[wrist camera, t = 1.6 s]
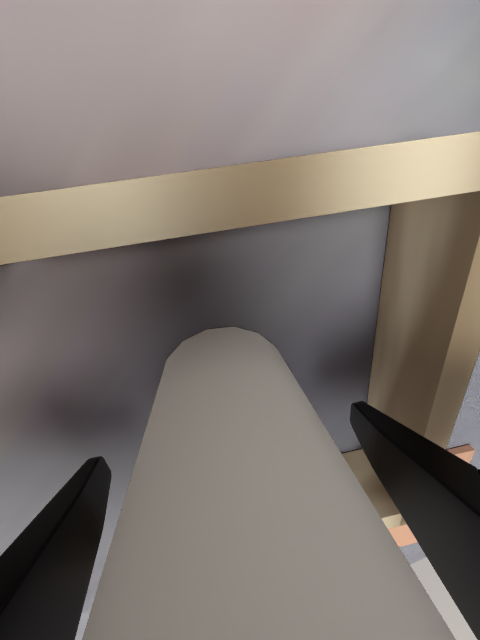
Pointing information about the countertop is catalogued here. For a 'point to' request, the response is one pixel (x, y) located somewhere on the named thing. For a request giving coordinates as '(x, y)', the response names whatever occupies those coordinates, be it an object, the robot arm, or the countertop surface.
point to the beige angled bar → (307, 201)
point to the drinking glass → (249, 517)
